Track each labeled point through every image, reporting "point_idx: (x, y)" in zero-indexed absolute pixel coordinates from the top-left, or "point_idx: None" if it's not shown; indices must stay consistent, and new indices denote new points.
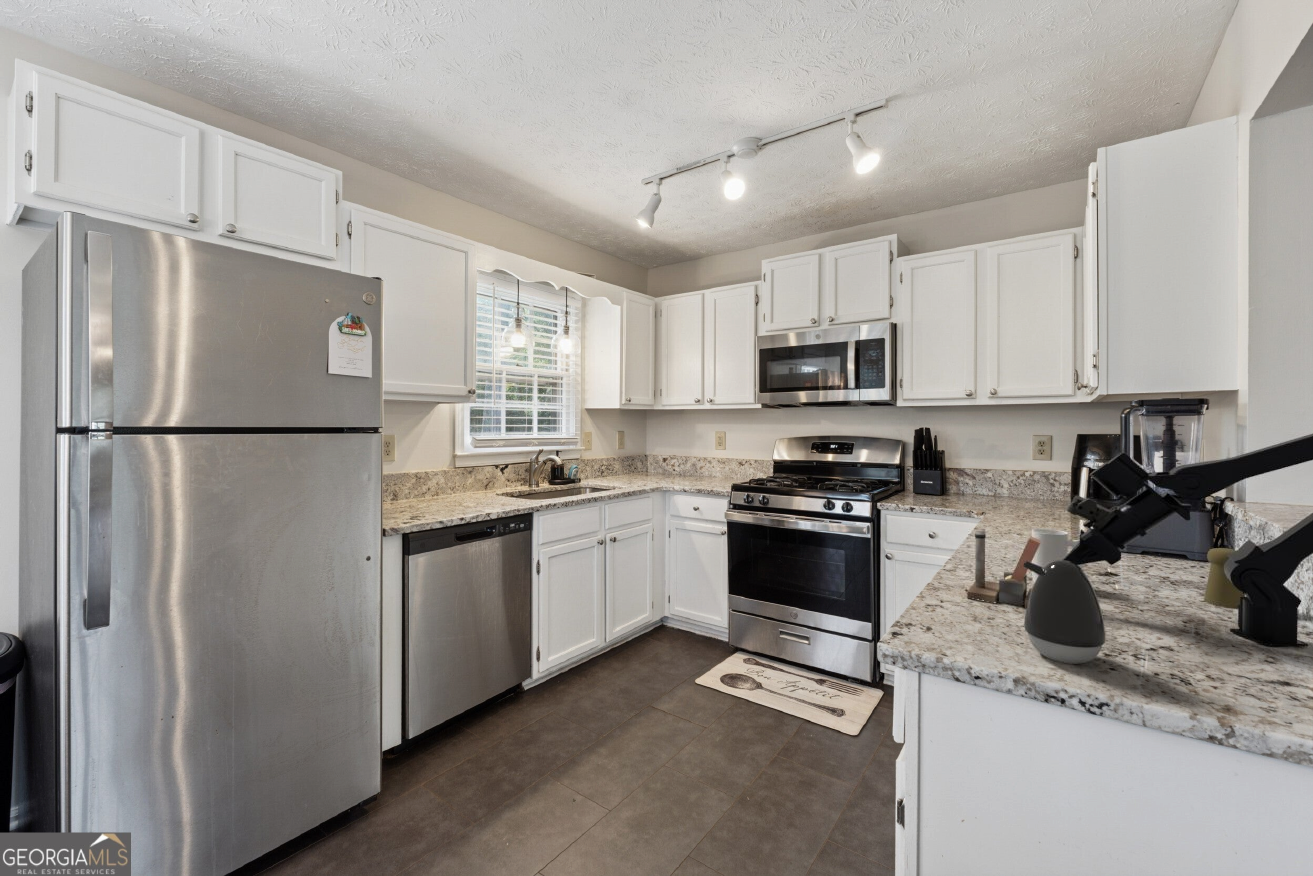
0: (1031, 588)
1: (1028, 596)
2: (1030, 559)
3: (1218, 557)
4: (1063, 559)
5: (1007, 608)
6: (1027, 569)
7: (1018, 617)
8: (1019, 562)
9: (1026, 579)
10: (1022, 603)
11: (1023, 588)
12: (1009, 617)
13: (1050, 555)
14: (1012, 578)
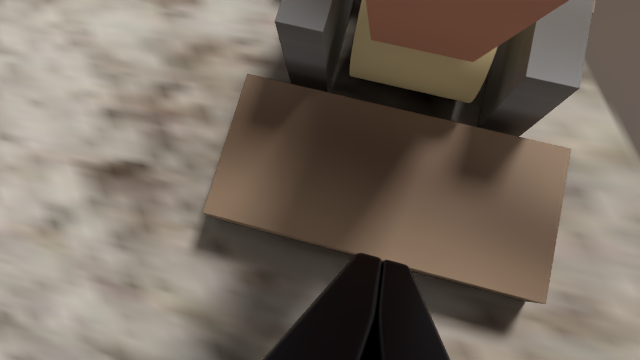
0: (552, 152)
1: (348, 105)
2: None
3: None
4: (364, 287)
5: (229, 18)
6: (370, 11)
7: (100, 44)
8: None
9: (538, 95)
10: (291, 81)
11: (359, 64)
12: (89, 10)
13: None
14: None
